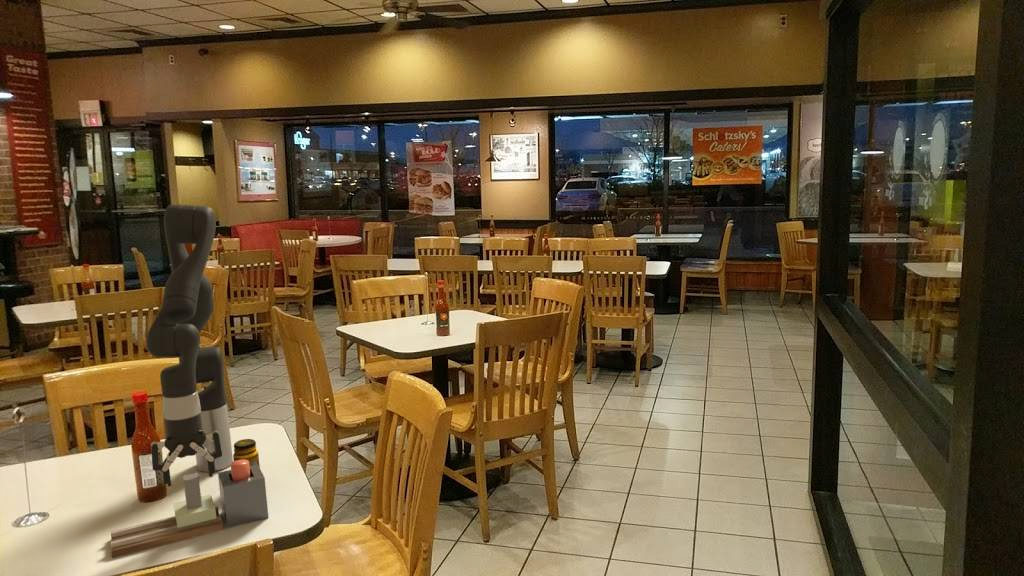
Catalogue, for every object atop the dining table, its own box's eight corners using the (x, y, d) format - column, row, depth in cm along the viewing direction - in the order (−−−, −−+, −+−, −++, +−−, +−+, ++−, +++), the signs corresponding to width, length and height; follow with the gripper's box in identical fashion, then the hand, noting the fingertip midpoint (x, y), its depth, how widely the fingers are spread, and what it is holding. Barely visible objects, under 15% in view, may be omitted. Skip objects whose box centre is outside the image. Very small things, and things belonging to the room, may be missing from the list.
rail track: (112, 539, 158) (110, 528, 158) (217, 513, 169) (216, 503, 168) (112, 557, 151) (110, 546, 150) (222, 529, 161) (221, 519, 161)
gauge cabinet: (222, 512, 169) (217, 472, 168) (261, 502, 174) (257, 464, 172) (227, 528, 162) (223, 487, 160) (268, 517, 166) (264, 477, 164)
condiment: (266, 487, 182) (261, 443, 180) (231, 496, 177) (226, 451, 175) (258, 477, 188) (254, 434, 186) (224, 486, 183) (220, 442, 181)
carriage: (174, 513, 164) (170, 474, 162) (212, 504, 167) (207, 466, 166) (177, 527, 157) (172, 487, 155) (216, 518, 161) (211, 478, 159)
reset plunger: (231, 486, 167) (229, 462, 166) (249, 481, 169) (247, 458, 168) (234, 492, 164) (231, 468, 163) (252, 488, 166) (250, 464, 165)
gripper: (214, 401, 164) (221, 467, 167) (145, 413, 158) (154, 481, 161) (218, 411, 158) (225, 479, 161) (146, 424, 151) (155, 494, 154)
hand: (190, 480), depth 161 cm, fingers open, 8 cm apart
